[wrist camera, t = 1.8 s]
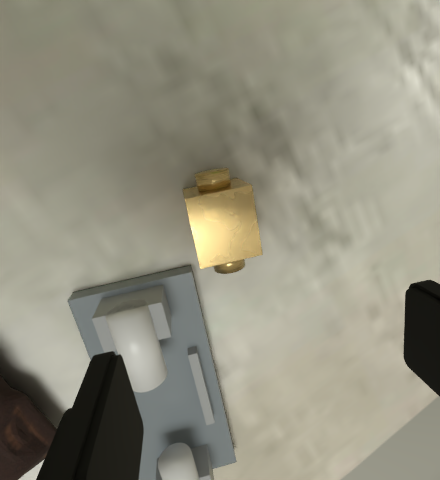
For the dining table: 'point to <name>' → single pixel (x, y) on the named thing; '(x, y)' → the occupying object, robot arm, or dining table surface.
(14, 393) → the dark brown l-shaped piece
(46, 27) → the dining table surface
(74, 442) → the robot arm
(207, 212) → the coupler
